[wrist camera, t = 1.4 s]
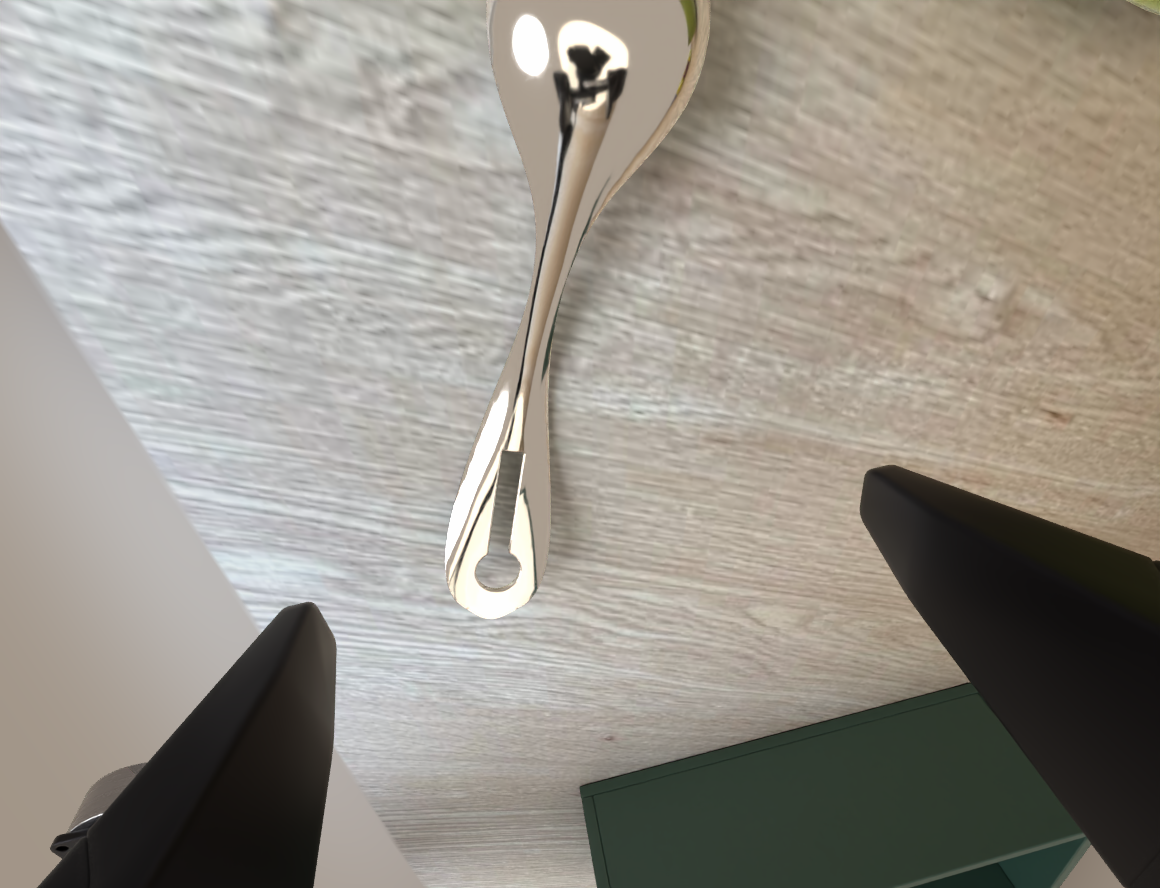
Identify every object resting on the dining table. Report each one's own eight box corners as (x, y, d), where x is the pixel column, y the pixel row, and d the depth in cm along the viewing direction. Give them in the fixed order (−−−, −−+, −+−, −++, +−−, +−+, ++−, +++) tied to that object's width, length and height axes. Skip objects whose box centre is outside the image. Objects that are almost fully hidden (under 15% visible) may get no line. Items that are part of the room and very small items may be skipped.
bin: (603, 869, 37) (634, 1035, 30) (579, 786, 31) (611, 969, 25) (943, 775, 38) (1040, 914, 32) (979, 680, 33) (1105, 826, 26)
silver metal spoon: (565, 664, 19) (417, 666, 18) (549, 590, 22) (421, 587, 21) (773, -130, 11) (513, -231, 9) (700, -74, 14) (496, -145, 12)
